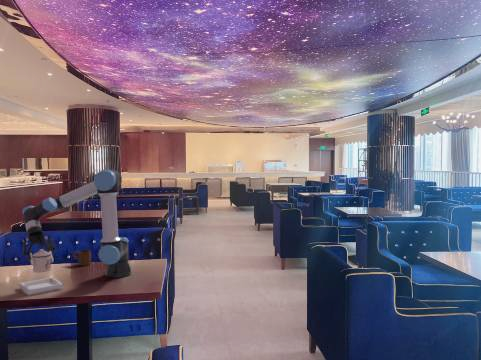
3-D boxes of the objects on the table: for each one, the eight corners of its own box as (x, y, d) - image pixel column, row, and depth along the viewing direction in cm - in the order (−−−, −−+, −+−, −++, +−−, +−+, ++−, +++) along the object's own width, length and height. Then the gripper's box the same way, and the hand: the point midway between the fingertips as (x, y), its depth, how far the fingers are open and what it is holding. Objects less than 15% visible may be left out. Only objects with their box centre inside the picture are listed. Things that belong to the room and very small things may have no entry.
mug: (70, 266, 267) (70, 252, 267) (74, 263, 274) (74, 249, 274) (88, 266, 268) (88, 252, 267) (92, 263, 275) (92, 249, 275)
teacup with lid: (49, 272, 213) (48, 250, 212) (30, 273, 210) (29, 251, 210) (54, 266, 224) (53, 246, 224) (36, 267, 222) (36, 247, 222)
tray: (62, 289, 216) (62, 283, 216) (28, 295, 205) (28, 290, 205) (53, 282, 229) (53, 277, 229) (20, 288, 218) (20, 282, 218)
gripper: (53, 232, 235) (62, 263, 224) (11, 236, 221) (19, 270, 209) (55, 224, 231) (65, 256, 220) (13, 227, 217) (21, 262, 205)
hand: (42, 263), depth 214 cm, fingers closed on teacup with lid, 9 cm apart
